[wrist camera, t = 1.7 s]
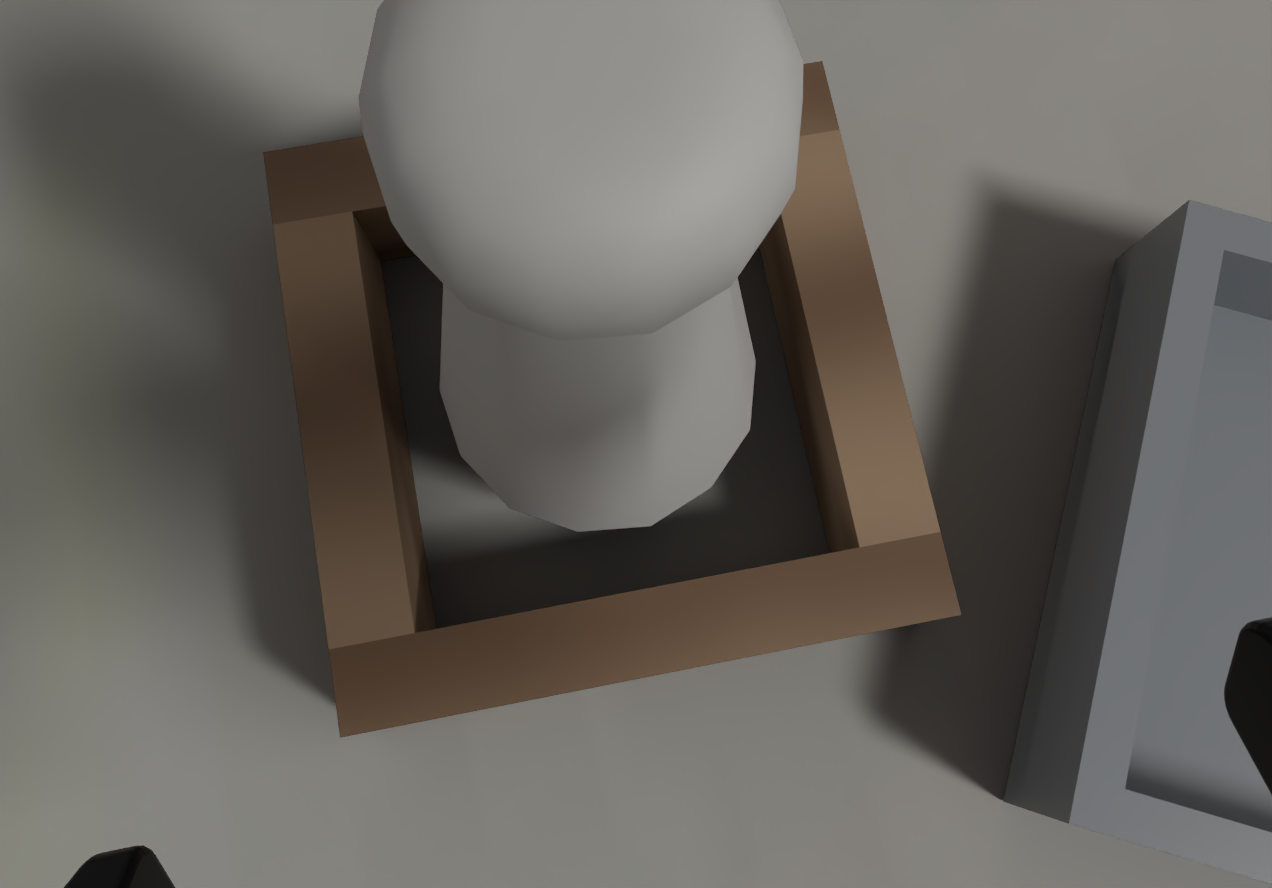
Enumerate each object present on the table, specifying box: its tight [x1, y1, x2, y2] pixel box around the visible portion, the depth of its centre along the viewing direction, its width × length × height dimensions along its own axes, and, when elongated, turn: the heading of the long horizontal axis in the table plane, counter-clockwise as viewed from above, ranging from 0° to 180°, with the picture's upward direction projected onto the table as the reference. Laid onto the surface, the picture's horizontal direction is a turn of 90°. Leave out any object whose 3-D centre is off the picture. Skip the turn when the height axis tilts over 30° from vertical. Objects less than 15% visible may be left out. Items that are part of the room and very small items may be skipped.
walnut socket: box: [263, 61, 961, 737], centre depth 21 cm, size 11×11×2 cm
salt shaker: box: [359, 0, 803, 532], centre depth 16 cm, size 6×6×13 cm
